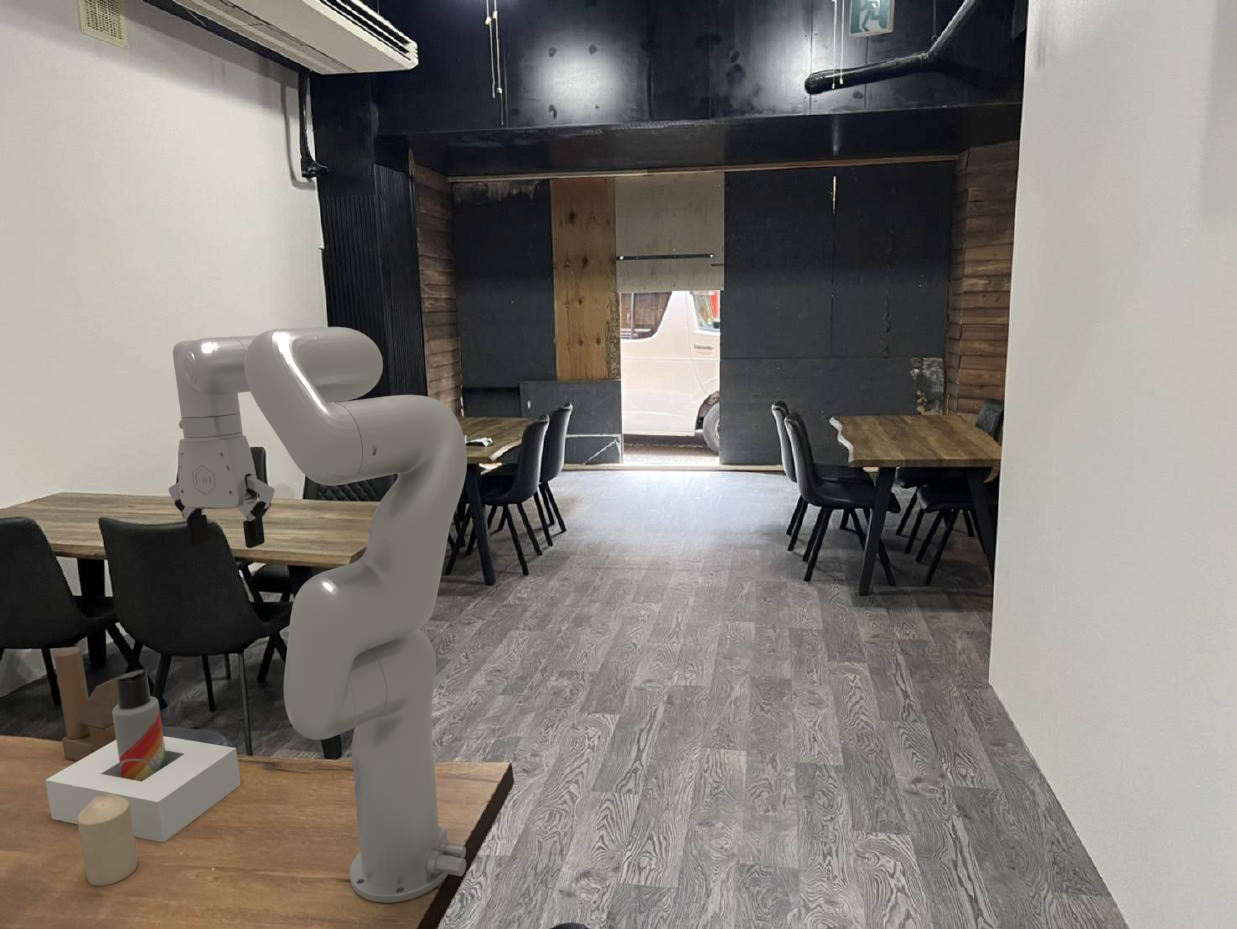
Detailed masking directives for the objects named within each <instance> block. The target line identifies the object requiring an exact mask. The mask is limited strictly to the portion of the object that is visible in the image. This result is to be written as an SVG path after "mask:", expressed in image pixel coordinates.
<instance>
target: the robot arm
mask: <svg viewBox="0 0 1237 929" xmlns="http://www.w3.org/2000/svg"><path fill="white" fill-rule="evenodd" d="M172 358H173V365H174V367H173V368H174V373H175V379H176V380H175V382H176V388H177V389H176V390H177V396H178V403H179V404H178V405H179V409H180V410H179V411H180V416H181V420H180V421H178V422H179V423H178V427H179V429H181V430H182V433H183V438H181V439H179V442H178V452H177V477H178V481H177V482H176V483H174V484H173V485H171V486H170V487H168V494H169V495H170V497H171V498H172V500H173V502H174V506H175V507H176V509H178V510H179V512H180V513H181V517H182V518H183V519H184V520H186V527H187V534H188V539H189V540H188V541H189V545H190V546H191V547H196V546H198V545H202V544H204V543H207V542H209V541H210V533H209V524H208V517H207V514H203V513H204V511H205V510H206V509H207V510H232V509H236V508H237V509H238V510H239V512H240V513H241V514H242V515H243V516H244V517H245V519H246V520H243V522H242V525H243V526H242V527H243V535H244V541H245V547H246V549H253V548H255V547H257V546H261V545H264V543H265V541H266V540H265V530H264V522H263V517H265V516H266V514H267V511H269V509H270V507H271V506H272V500H273V497H274V494H275V488H274V487H272V486H270V485H269V484H267V483H265V482H264V481H261V480H260V479H258V477H257V473H256V468H255V463H254V458H253V455H252V452H251V451H252V449H251V447H250V445H249V441H248V438H247V436H246V435H243V434H244V432H243V426H242V425H243V424H242V416H241V410H240V409H241V408H240V407H241V406H240V401H239V400H240V399H239V394H240V393H249V392H250V394H251V396H252V397H253V399H254V401H255V403H256V405H257V407H258V408H259V410H260V411H261V412H262V415H263V417H265V419H266V420H267V422H268V423H269V425H270V426H271V427H272V429H273V431H274V433H275V434H276V436H277V437H278V438H279V440H280V441H281V443H282V444H283V446H284V448H285V450H286V451H287V453H288V455H290V457H291V459H292V461H293V462H294V463H295V465H296V467H297V468H298V469H299V470H300V471H301V472H302V473H303V475H305V476H306V478H308V479H309V480H311V481H313V482H314V483H316V484H319V485H322V486H323V485H324V486H340V485H346V484H347V485H348V484H351V483H356V482H361V481H366V480H372V479H376V478H377V479H378V478H381V477H386V476H391V475H396V474H397V479H396V480H395V481H394V483H393V484H392V486H391V487H390V488H389V489H388V490H387V492H386V493H385V495H384V496H382V498H381V500H380V502H379V504H378V505H377V507H376V509H375V512H374V513H373V516H372V519H371V521H370V523H369V524H370V525H369V530H368V540H367V544H366V548H365V550H364V551H365V552H364V554H363V555H362V556H361V557H360V558H359V559H357V560H356V561H353V562H351V563H347V564H345V565H342V566H338V567H335V568H331V569H329V570H325V571H323V572H321V573H318V574H315V575H314V576H312V577H310V578H309V579H308V580H307V581H305V583H303V584H302V586H301V587H300V588H299V590H298V592H296V593H297V594H296V595H295V598H294V600H293V603H292V607H291V613H290V619H289V630H288V639H287V648H286V649H287V650H286V657H285V658H286V659H285V666H284V674H283V675H284V677H283V700H284V707H285V710H286V714H287V718H288V719H289V721H290V724H291V725H292V727H293V728H294V729H295V731H296V733H298V734H300V735H301V736H302V737H305V738H307V739H309V740H315V741H317V740H318V741H319V740H327V739H331V738H333V737H335V736H338V735H341V734H343V733H346V732H347V731H350V730H353V729H354V730H353V734H352V741H351V758H352V772H353V782H354V792H355V793H354V794H355V803H356V813H357V814H356V815H357V827H358V833H359V846H360V851H359V852H358V853H357V854H356V855H355V857H354V859H353V860H352V862H351V863H350V864H351V865H350V867H349V881H350V885H351V887H352V889H353V891H354V892H355V893H356V894H357V895H358V896H360V897H362V898H363V899H365V900H369V901H372V902H377V903H382V904H383V903H385V904H386V903H397V902H398V903H399V902H405V901H408V900H412V899H415V898H418V897H420V896H422V895H424V894H426V893H428V892H430V891H432V890H434V889H435V888H437V886H439V885H440V884H441V883H442V882H443V881H444V880H445V879H447V876H448V875H452V876H457V877H463V875H464V874H465V872H466V868H467V860H466V859H465V856H466V854H467V848H466V847H465V846H461V845H456V844H455V845H453V844H451V842H450V841H449V840H448V831H447V830H448V829H447V828H442V827H439V826H440V825H439V812H438V801H437V800H438V799H437V789H436V788H437V786H436V785H437V784H436V775H435V763H434V741H433V724H432V722H433V720H432V717H433V716H432V709H433V696H434V690H435V681H436V673H437V666H436V664H437V660H436V653H435V650H434V647H433V645H432V642H431V641H430V639H429V637H428V636H427V635H426V634H425V633H424V632H423V631H422V630H421V629H420V628H421V627H423V626H424V625H425V624H427V622H428V621H429V620H430V618H431V617H432V615H433V612H434V610H435V605H436V601H437V597H438V593H439V587H440V582H441V578H442V571H443V568H444V562H445V555H446V553H447V552H446V551H447V544H448V539H449V535H450V529H451V525H452V522H453V519H454V515H455V513H456V510H457V507H458V504H459V501H460V498H461V495H462V492H463V489H464V484H465V480H466V475H467V467H468V456H467V454H468V453H467V444H466V440H465V436H464V432H463V428H462V426H461V424H460V422H459V420H458V418H457V417H456V415H455V413H454V412H453V411H452V409H451V408H450V407H449V406H448V405H446V403H443V402H442V401H441V400H439V399H437V398H434V397H430V396H425V395H417V394H416V395H415V394H400V395H387V396H380V397H373V398H364V399H358V398H361V397H362V396H364V395H366V394H367V393H369V392H370V391H372V389H374V388H375V386H376V385H377V384H378V383H379V381H380V379H381V376H382V374H383V367H384V365H383V364H384V363H383V356H382V354H381V351H380V349H379V348H378V346H377V344H376V343H375V342H374V341H373V340H372V339H371V338H370V337H369V336H367V335H366V334H364V333H362V332H361V331H359V330H356V329H353V328H350V327H349V328H348V327H345V326H344V327H340V326H327V327H322V326H321V327H300V328H299V327H297V328H296V327H295V328H292V327H291V328H273V329H269V330H267V331H263V332H261V333H260V334H258V335H245V336H244V335H241V336H226V337H225V336H221V337H220V336H219V337H218V336H217V337H206V338H205V337H204V338H200V339H192V340H183V341H179V342H177V343H176V344H174V346H173V349H172ZM354 399H355V400H354ZM271 427H270V428H271ZM258 497H259V498H258ZM258 499H259V500H258Z"/></svg>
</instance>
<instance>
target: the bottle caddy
mask: <svg viewBox="0 0 1237 929" xmlns="http://www.w3.org/2000/svg"><path fill="white" fill-rule="evenodd" d="M163 738H164V745H165V752H166V759H167V766H165V767H164V768H162V769H161V770H159V771H158V772H156V773H154V774H153V775H151V776H150V777H148V778H147V779H145V780H144V781H142V782H141V781H136V780H130V779H125V778H122V775H121V768H120V761H119V755H118V748H117V742H116V740H115V741H113V742H111V743H109V744H108V745H106V746H104V747H102V748H101V749H99V750H97V751H95V752H94V753H92V754H90V755H88V756H87V757H85V758H83V759H81V760H80V761H76V762H74V763H72V764H70V765H69V766H68V767H66V768H63V769H62V770H61V771H58V772H57V773H55V774H53V775H52V776H49V777H48V778H46V779H45V787H46V792H47V798H48V804H49V810H50V817H51V819H52V820H55V821H59V820H60V822H65V823H68V824H69V823H70V824H73V823H74V825H78V821H77V818H78V815H79V814H80V813H81V811H82V810H83V809H84V808H85V807H86V806H87V805H88V804H89V803H90V802H91V801H92V799H93V798H95V797H103V796H106V795H108V794H114V795H116V796H118V797H121V798H123V799H126V800H127V801H128V802H129V806H130V812H131V819H132V826H133V832H134V838H140V839H144V840H148V841H153V842H159V843H163V844H164V843H166V841H168V840H169V839H171V838H173V837H174V836H175V835H176V834H178V833H179V832H180V831H182V830H183V829H184V828H185V827H186V826H188V825H190V824H191V823H192V822H193V821H195V820H196V819H197V818H198V817H200V816H201V815H202V814H204V813H205V812H207V811H208V810H209V809H211V808H212V807H213V806H215V805H216V804H217V803H218V802H220V801H221V800H223V799H224V798H225V797H226V796H228V795H229V794H230V793H232V792H233V791H235V790H236V789H237V788H239V787H240V786H241V777H240V770H239V761H238V754H237V747H232V746H225V745H221V744H213V743H206V742H201V741H194V740H190V739H183V738H177V737H171V736H165V735H163Z"/></svg>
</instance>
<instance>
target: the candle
mask: <svg viewBox="0 0 1237 929" xmlns="http://www.w3.org/2000/svg"><path fill="white" fill-rule="evenodd" d="M77 821H78V824H77V826H78V832H79V838H80V842H81V843H80V844H81V850H82V855H83V856H82V857H83V861H84V870H85V875H86V879H87V882H88V883H89V884H90V885H91V886H94V887H103V886H104V887H105V886H109V885H113V884H115V883H118V882H121V881H122V880H124V879H126V878H127V877H129V876H130V875H131V874H133V873H134V872H135V871H136V869H137V867H138V861H139V860H138V853H137V846H136V841H135V837H134V832H133V826H132V819H131V812H130V806H129V802H128V801H127V800H126V799H123V798H121V797H118V796H116V795H114V794H108V795H106V796H103V797H95V798H93V799H92V801H91V802H90V803H89V804H88V805H87V806H86V807H85V808H84V809H83V810H82V811H81V813H80V814H79V815H78V818H77Z"/></svg>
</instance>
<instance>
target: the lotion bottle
mask: <svg viewBox="0 0 1237 929" xmlns="http://www.w3.org/2000/svg"><path fill="white" fill-rule="evenodd" d="M114 679H115V681H116V688H117V696H118V703H119V704H118V705H116V706H115V707H114V709H113V711H112V714H113V722H114V728H115V735H116V742H117V748H118V755H119V761H120V768H121V775H122V778H125V779H130V780H136V781H141V782H142V781H144V780H145V779H147V778H148V777H150V776H151V775H153V774H154V773H156V772H158V771H159V770H161V769H162V768H164V767H165V766H167V759H166V752H165V745H164V738H163V736H164V733H163V732H164V730H163V725H162V718H161V716H162V715H161V711H160V709H161V708H160V704H159V700H158V698H156V697H155V696H151V693H150V692H151V691H150V684H149V680H148V673H147V670H146V669H141V668H139V669H136V670H132V671H129V672H126V673H124V674H121V675H118V676H116V677H115V678H114Z"/></svg>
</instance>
